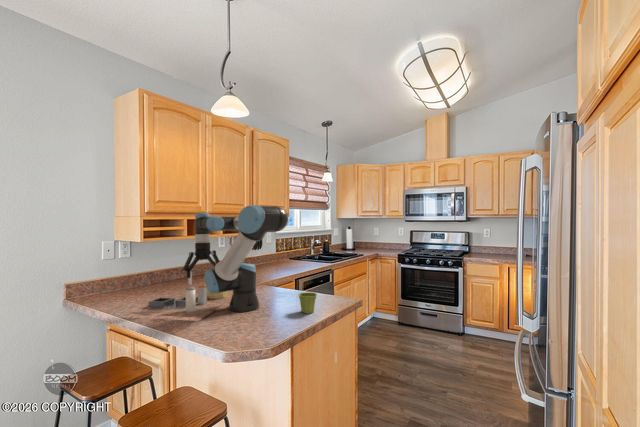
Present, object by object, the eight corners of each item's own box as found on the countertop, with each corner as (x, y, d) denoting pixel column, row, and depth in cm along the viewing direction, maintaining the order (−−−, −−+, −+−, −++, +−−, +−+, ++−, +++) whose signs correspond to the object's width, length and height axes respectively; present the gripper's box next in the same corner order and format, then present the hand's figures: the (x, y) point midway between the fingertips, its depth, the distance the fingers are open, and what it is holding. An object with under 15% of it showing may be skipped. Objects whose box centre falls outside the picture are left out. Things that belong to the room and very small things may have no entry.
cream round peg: (197, 312, 157) (197, 286, 158) (192, 315, 153) (192, 288, 153) (188, 312, 158) (189, 286, 158) (183, 315, 154) (183, 288, 154)
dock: (198, 304, 172) (198, 296, 172) (183, 312, 158) (183, 303, 158) (164, 303, 175) (164, 295, 175) (147, 310, 161) (147, 301, 162)
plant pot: (299, 309, 164) (299, 292, 164) (317, 309, 163) (317, 292, 163) (297, 314, 154) (297, 296, 154) (316, 314, 154) (316, 296, 154)
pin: (208, 305, 170) (208, 283, 170) (204, 307, 166) (204, 285, 166) (201, 305, 171) (201, 283, 171) (196, 307, 167) (196, 284, 167)
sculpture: (213, 303, 175) (213, 283, 175) (203, 299, 183) (203, 280, 183) (232, 299, 183) (232, 280, 184) (221, 296, 192) (221, 278, 192)
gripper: (221, 240, 181) (221, 278, 180) (175, 243, 163) (176, 284, 162) (227, 241, 175) (227, 279, 175) (181, 243, 158) (181, 286, 157)
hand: (202, 282), depth 168 cm, fingers open, 13 cm apart
